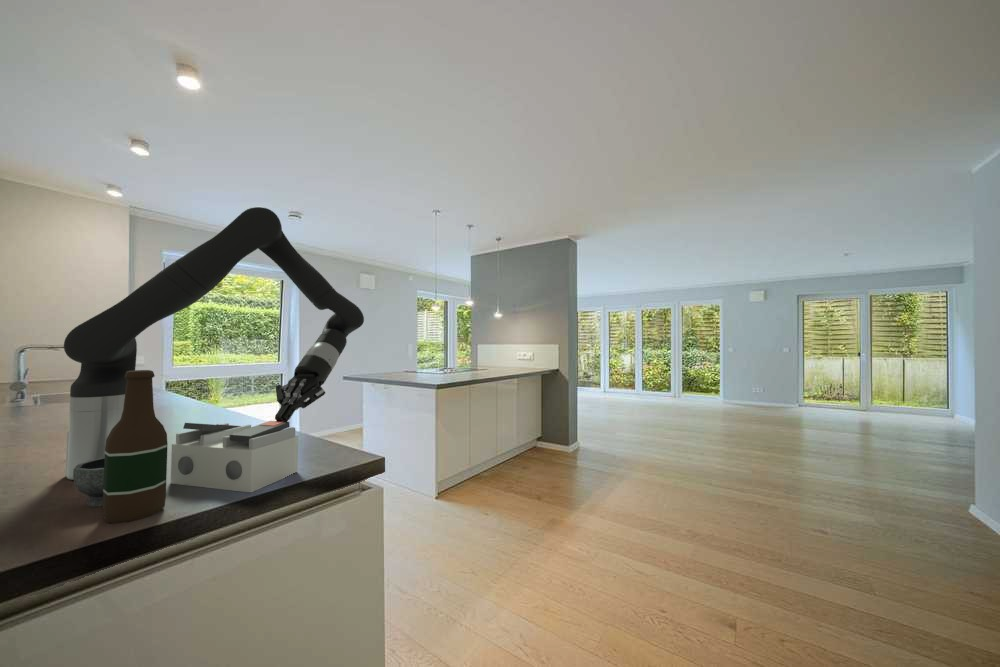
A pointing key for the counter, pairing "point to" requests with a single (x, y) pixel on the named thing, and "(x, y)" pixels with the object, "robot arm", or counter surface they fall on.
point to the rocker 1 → (208, 426)
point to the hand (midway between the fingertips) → (280, 421)
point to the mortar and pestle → (90, 480)
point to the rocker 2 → (259, 430)
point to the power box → (233, 459)
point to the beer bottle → (135, 456)
